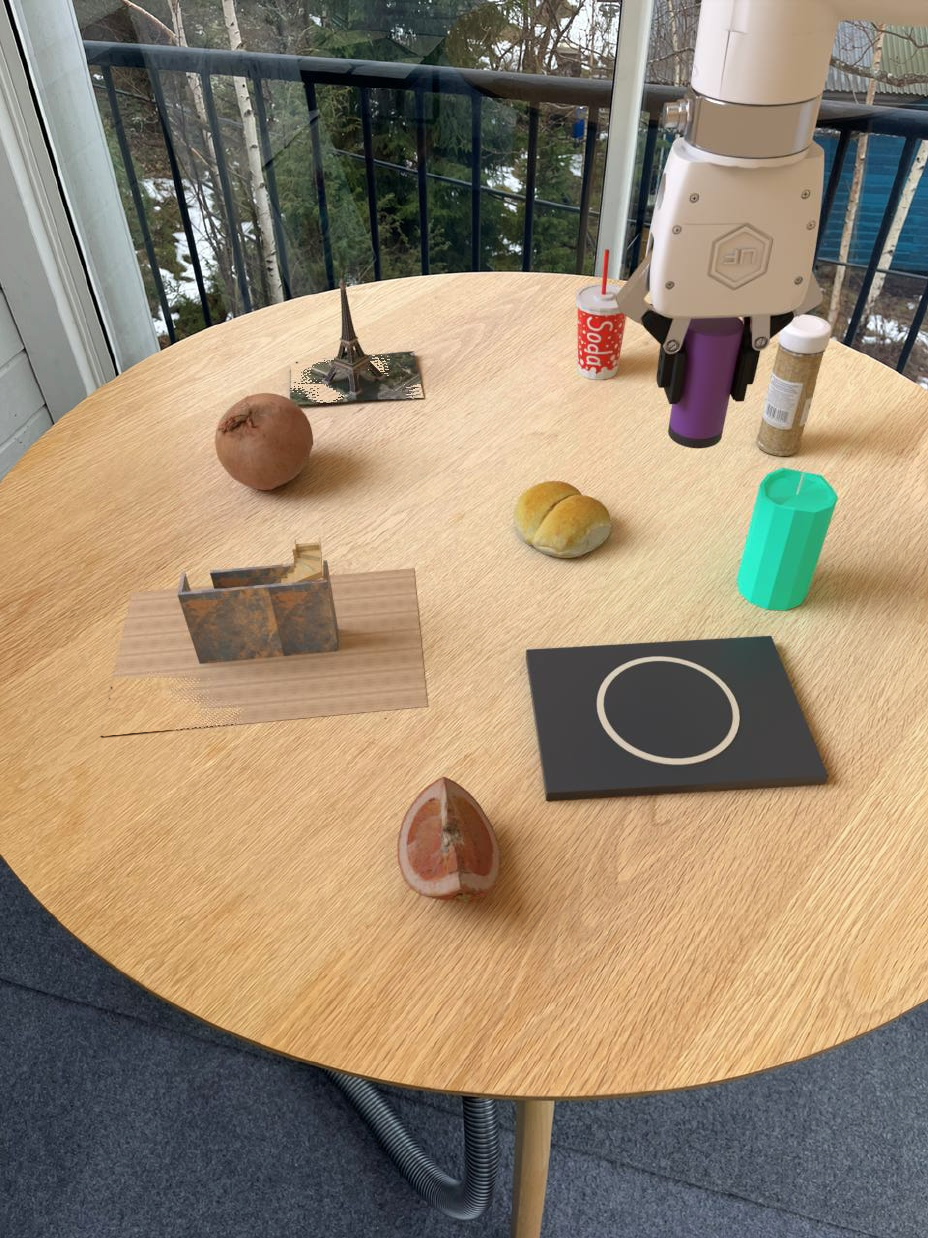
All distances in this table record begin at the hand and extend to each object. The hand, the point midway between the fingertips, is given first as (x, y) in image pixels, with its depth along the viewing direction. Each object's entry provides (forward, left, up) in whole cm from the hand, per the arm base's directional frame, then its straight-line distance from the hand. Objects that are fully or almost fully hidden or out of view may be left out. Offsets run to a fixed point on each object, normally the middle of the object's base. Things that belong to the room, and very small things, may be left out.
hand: (702, 390), depth 68 cm
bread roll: (+8, -9, -20) cm, 23 cm away
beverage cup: (0, -38, -20) cm, 42 cm away
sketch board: (+3, +14, -19) cm, 24 cm away
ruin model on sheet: (+34, +4, -20) cm, 40 cm away
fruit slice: (+20, +26, -20) cm, 39 cm away
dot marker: (0, 0, -4) cm, 4 cm away
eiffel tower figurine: (+28, -38, -20) cm, 51 cm away
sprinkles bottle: (-16, -21, -20) cm, 32 cm away
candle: (-9, +1, -20) cm, 22 cm away
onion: (+36, -20, -20) cm, 46 cm away
